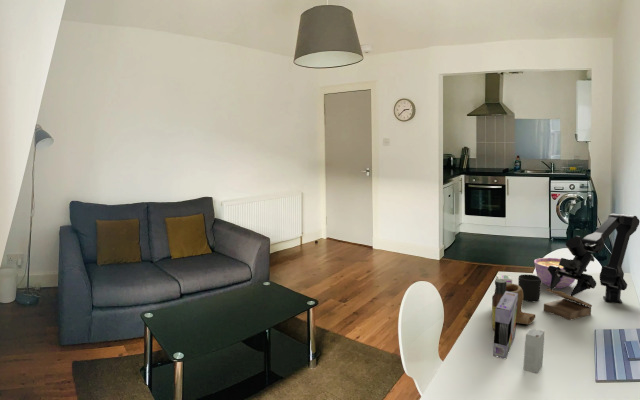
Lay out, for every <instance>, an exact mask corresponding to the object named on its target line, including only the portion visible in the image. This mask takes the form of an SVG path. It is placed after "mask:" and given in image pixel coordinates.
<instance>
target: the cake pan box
mask: <svg viewBox="0 0 640 400" xmlns="http://www.w3.org/2000/svg"><path fill="white" fill-rule="evenodd" d="M517 300H518V293H513V292H508V291H505V293H504V295H503V296H502V297H501V299H500V301H499V303H498V305H497V307H496V310H495V329H494V331H493V343H492V348H493V349H492V356H493V357H496V356H498V357H497V358H500V357H501V358H502V359H504V358H506V359H507V357H508V355H509V353H510V350H511V347H512V345H513V343H514V340H515V336H516V326H517V325H516V324H517V323H516V312H517ZM508 352H509V353H508Z"/></svg>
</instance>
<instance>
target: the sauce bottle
mask: <svg viewBox="0 0 640 400" xmlns="http://www.w3.org/2000/svg"><path fill="white" fill-rule="evenodd" d="M494 285H495V288H494V294H493V295H492V297H491V298H492V299H491V300H492V301H491V302H492V303H491V322H492V323H491V326H492V327H491V328H492V330H493V332H494V329H495V310H496V307H497V305H498V303H499V301H500V299H501V297H502V296H503V295H504V293H505V291H506V285H507V283H506V281H505V280H501V279H498V280H496V279H495V280H494Z"/></svg>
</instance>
